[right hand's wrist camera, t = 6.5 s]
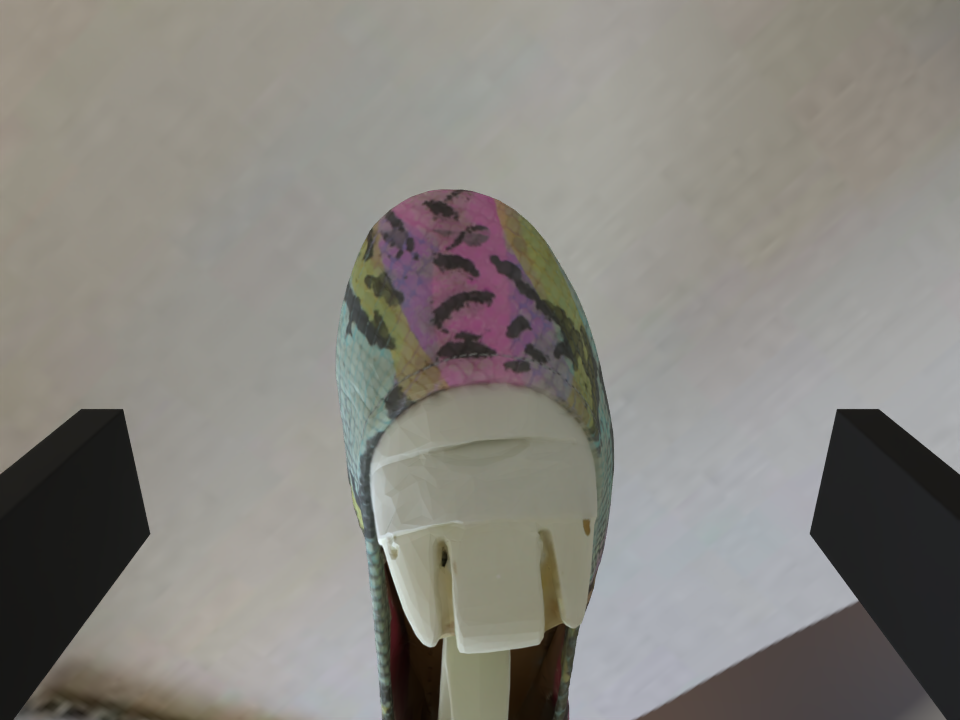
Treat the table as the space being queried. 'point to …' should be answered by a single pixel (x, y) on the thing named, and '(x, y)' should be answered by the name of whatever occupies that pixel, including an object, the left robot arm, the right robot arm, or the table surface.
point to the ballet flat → (473, 458)
